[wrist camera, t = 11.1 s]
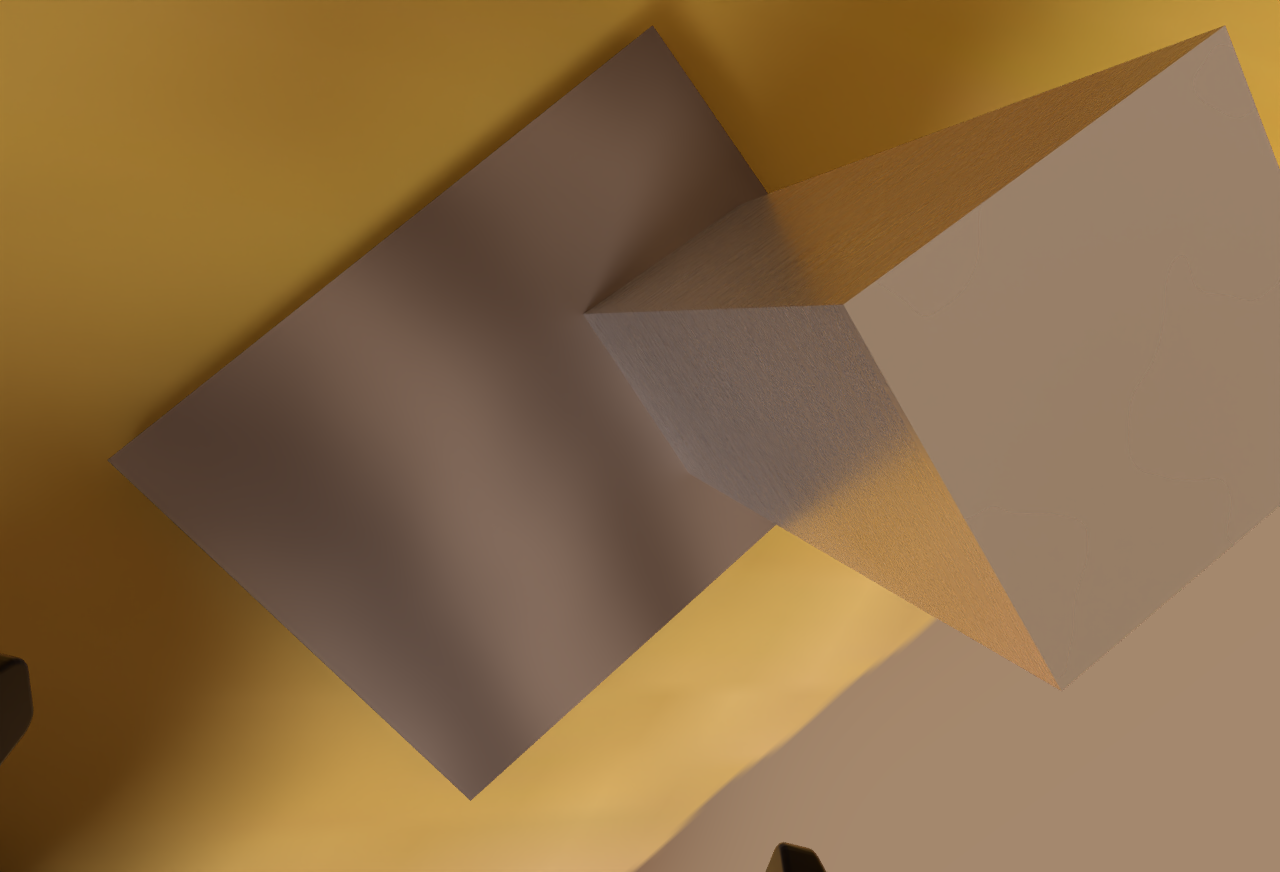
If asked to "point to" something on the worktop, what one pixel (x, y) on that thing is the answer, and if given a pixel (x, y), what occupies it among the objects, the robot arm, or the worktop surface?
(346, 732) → the worktop surface
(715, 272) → the aluminium block
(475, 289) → the plate
